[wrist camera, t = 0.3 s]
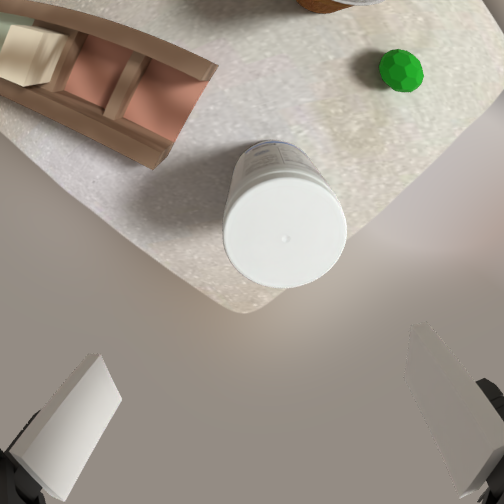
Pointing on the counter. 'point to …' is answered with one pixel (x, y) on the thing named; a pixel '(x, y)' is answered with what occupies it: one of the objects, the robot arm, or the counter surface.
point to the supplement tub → (281, 217)
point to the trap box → (110, 81)
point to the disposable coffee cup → (333, 4)
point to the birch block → (30, 54)
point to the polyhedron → (401, 70)
